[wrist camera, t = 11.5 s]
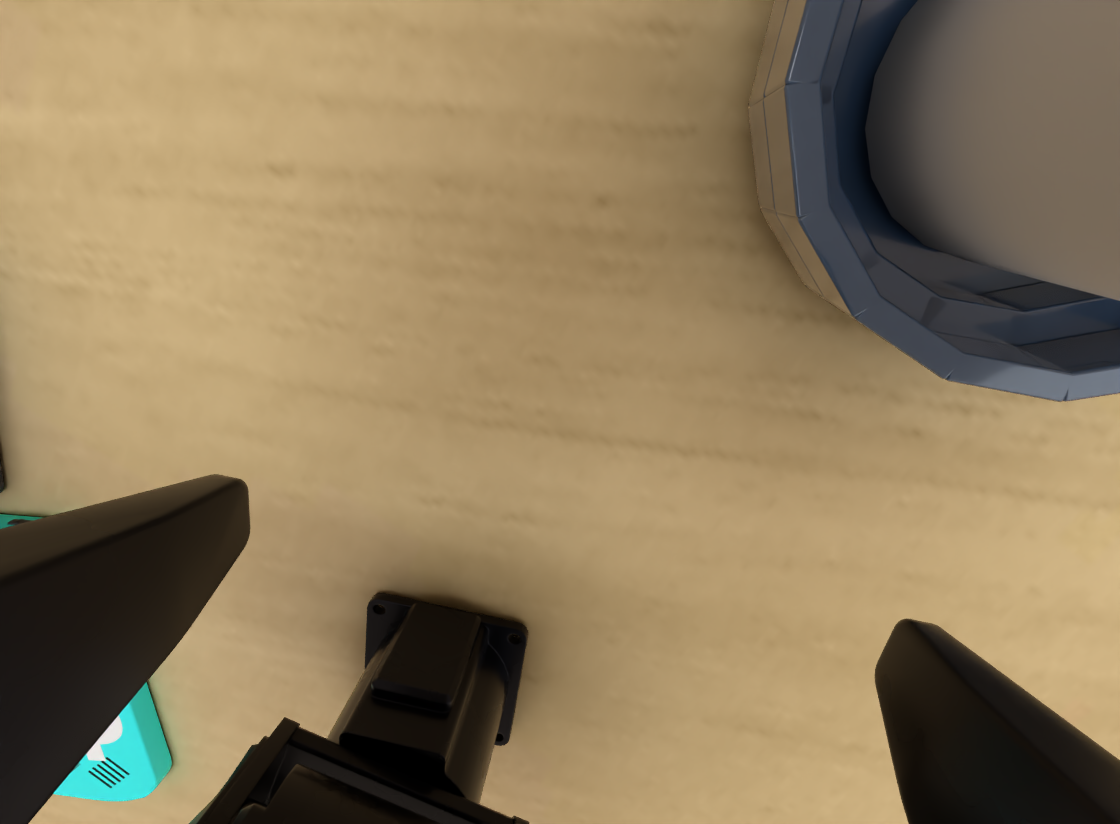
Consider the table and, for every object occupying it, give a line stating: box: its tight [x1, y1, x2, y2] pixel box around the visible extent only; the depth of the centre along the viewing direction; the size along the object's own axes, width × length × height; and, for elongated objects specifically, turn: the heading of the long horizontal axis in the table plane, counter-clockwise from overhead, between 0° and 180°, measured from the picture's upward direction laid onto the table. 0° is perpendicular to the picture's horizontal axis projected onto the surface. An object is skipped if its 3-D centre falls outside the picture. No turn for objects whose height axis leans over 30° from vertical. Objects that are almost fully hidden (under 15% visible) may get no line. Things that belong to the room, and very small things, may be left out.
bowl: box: [748, 0, 1120, 402], centre depth 13 cm, size 13×13×5 cm
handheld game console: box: [0, 514, 172, 801], centre depth 27 cm, size 10×16×1 cm, turn 0°
